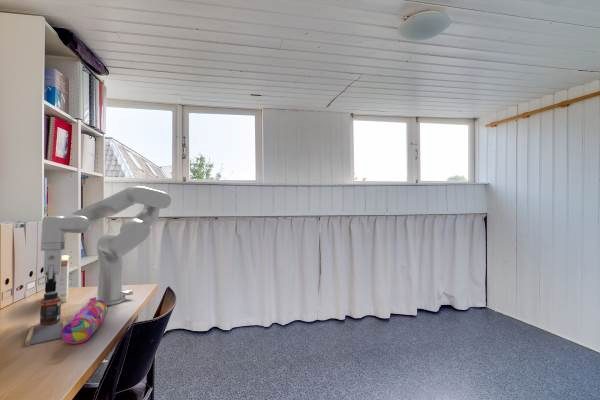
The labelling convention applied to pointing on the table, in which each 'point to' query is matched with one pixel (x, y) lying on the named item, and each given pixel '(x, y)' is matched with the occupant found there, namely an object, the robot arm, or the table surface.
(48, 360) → the table surface
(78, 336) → the pencil case
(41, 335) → the cradle mat
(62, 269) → the coffeecake box
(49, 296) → the supplement bottle
